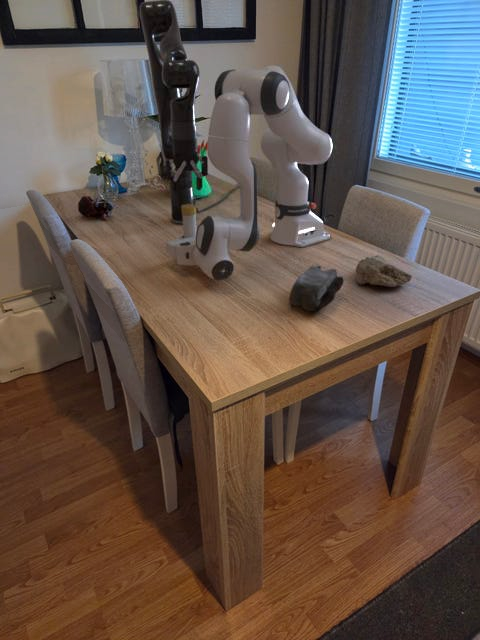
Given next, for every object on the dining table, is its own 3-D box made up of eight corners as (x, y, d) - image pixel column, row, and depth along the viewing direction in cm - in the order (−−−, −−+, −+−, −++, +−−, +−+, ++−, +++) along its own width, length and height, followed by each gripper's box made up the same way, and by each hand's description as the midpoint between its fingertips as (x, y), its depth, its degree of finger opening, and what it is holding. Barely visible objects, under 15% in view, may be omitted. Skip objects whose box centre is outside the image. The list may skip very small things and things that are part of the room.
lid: (179, 214, 145) (179, 207, 143) (184, 210, 149) (183, 203, 147) (193, 215, 144) (193, 208, 143) (197, 211, 148) (197, 204, 147)
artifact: (373, 298, 130) (414, 291, 135) (379, 276, 125) (421, 270, 130) (340, 268, 143) (378, 263, 148) (345, 247, 139) (384, 242, 144)
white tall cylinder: (183, 257, 153) (180, 209, 144) (187, 252, 156) (184, 205, 147) (195, 259, 152) (193, 210, 143) (199, 254, 156) (196, 206, 147)
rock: (323, 321, 117) (326, 295, 113) (284, 311, 122) (285, 285, 118) (343, 292, 131) (347, 268, 127) (308, 284, 136) (310, 260, 132)
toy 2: (167, 190, 223) (163, 137, 210) (207, 188, 227) (205, 135, 214) (172, 202, 206) (167, 145, 193) (214, 199, 210) (213, 143, 197)
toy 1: (105, 189, 179) (76, 188, 184) (97, 209, 176) (68, 207, 182) (121, 206, 189) (93, 204, 195) (114, 225, 187) (85, 223, 192)
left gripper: (201, 132, 139) (203, 185, 148) (157, 136, 134) (162, 191, 142) (211, 136, 134) (212, 191, 142) (165, 140, 128) (170, 197, 137)
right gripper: (233, 236, 143) (217, 223, 153) (172, 247, 135) (159, 232, 146) (233, 255, 146) (217, 240, 157) (174, 265, 139) (161, 250, 149)
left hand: (187, 191), depth 142 cm, fingers open, 7 cm apart
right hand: (189, 236), depth 151 cm, fingers closed on white tall cylinder, 4 cm apart
